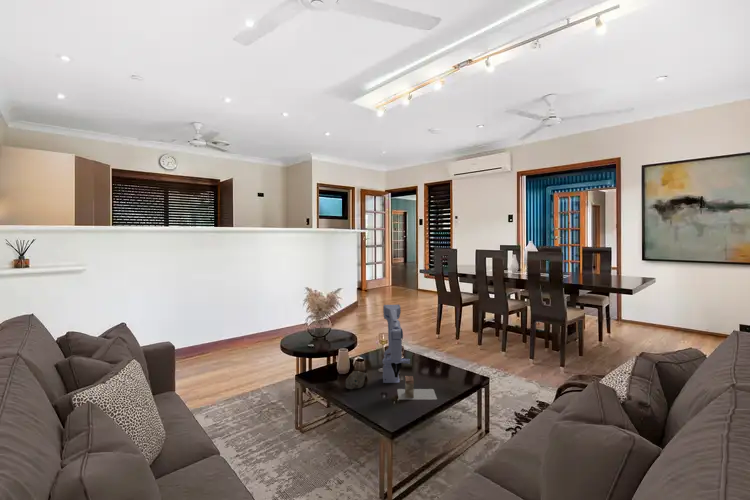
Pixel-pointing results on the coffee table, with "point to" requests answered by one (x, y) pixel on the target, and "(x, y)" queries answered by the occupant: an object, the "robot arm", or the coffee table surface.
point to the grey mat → (418, 394)
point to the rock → (355, 380)
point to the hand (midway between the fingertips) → (396, 376)
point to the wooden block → (409, 387)
